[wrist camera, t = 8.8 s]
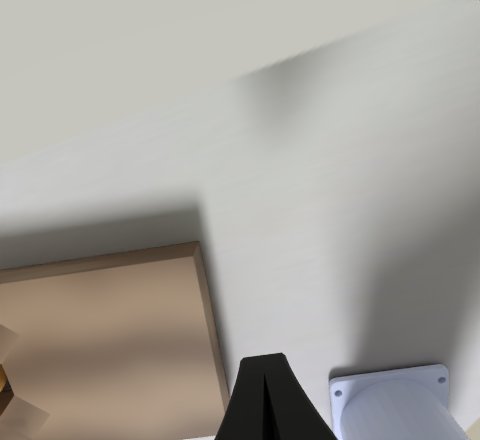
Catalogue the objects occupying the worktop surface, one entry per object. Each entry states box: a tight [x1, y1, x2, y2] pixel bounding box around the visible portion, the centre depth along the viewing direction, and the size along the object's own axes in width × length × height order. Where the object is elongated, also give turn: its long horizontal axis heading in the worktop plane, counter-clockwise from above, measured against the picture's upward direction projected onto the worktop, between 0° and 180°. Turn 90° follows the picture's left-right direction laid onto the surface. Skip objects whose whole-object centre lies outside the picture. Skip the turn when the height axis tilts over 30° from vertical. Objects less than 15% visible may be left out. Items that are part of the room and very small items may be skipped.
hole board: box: [0, 241, 230, 440], centre depth 19 cm, size 12×20×2 cm, turn 99°
